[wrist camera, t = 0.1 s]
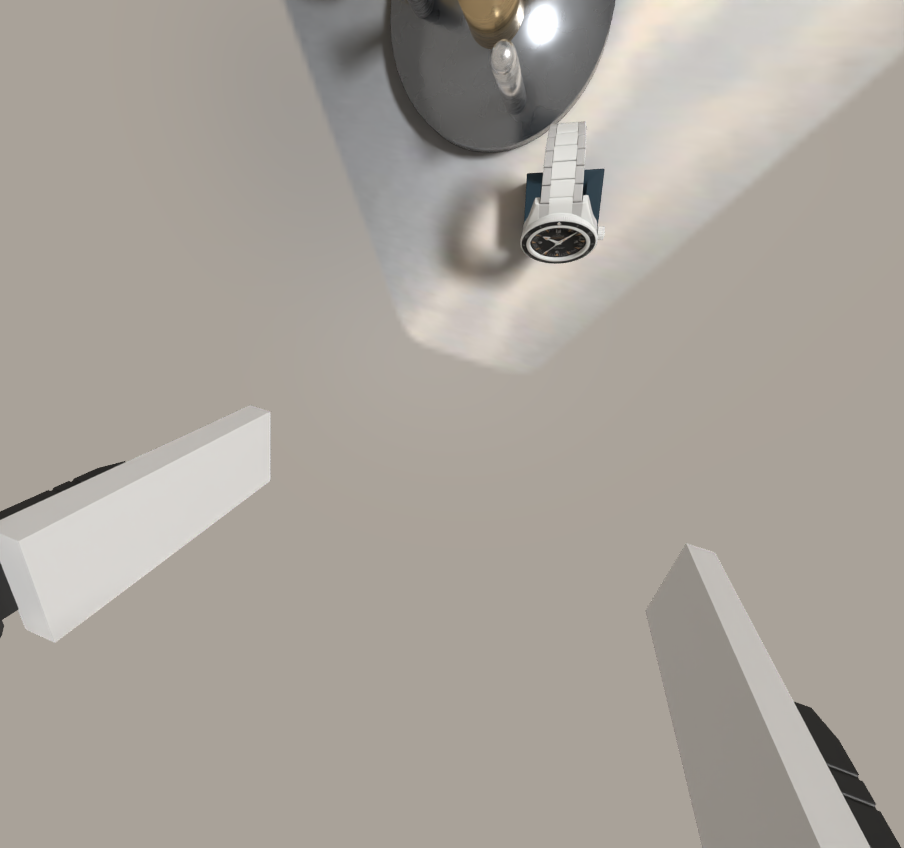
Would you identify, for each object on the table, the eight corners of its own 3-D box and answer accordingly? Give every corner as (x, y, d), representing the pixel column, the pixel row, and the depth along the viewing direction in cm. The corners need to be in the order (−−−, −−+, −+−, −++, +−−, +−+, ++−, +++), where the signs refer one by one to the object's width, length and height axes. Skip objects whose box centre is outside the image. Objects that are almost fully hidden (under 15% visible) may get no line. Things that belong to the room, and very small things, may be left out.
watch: (525, 263, 35) (510, 264, 25) (531, 155, 32) (517, 108, 22) (591, 262, 33) (604, 263, 23) (605, 150, 30) (625, 97, 20)
